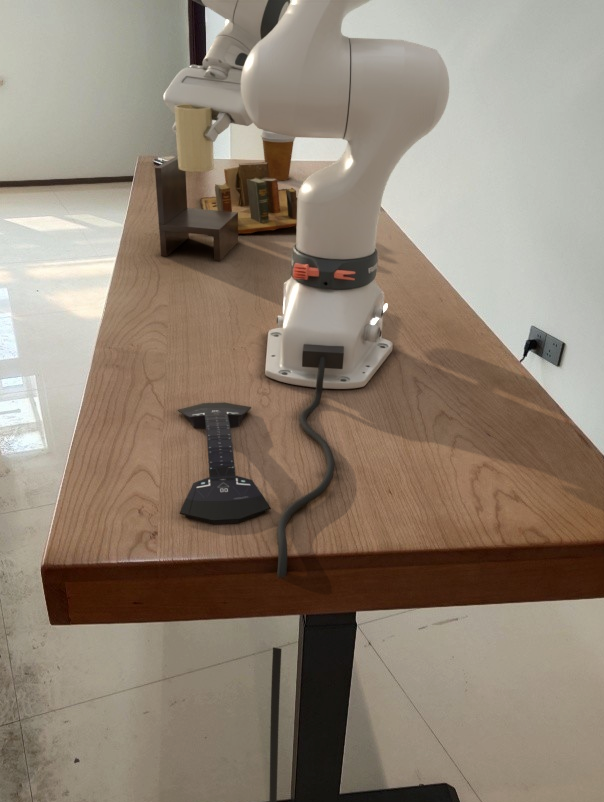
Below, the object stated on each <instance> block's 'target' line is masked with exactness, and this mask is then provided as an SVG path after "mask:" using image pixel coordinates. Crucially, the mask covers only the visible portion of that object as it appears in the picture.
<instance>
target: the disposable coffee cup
mask: <svg viewBox="0 0 604 802" xmlns="http://www.w3.org/2000/svg"><path fill="white" fill-rule="evenodd" d="M260 137H261V140H262V149H263V158H264V162H268V171H269V178H276V179H277V181H287V180H289V179H290V178H289V177H290V170H291V163H292V157H293V148H294V141H295V139H296V137H290V136H285V135H281V134H277V133H273V132H269V131H266V130H262V131H261V135H260Z"/></svg>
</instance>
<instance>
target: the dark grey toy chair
mask: <svg viewBox="0 0 604 802" xmlns="http://www.w3.org/2000/svg"><path fill="white" fill-rule="evenodd" d="M186 173H187V171H183V170H180V169H179V168H178V158H177V155H176V156H175V157H173V158H170V159H169V160H167V161H165V162H163V163H162V164H161V163H160V164H159V165H157V166H156V167H155V166H154V176H155V177H154V178H155V190H156V191H155V192H156V206H157V217H158V218H157V219H158V229H159V230H158V233H159V245H160V246H159V248H160V257H168V256H169V255H170V254H171V253H172V252H174V251H175V250H176V249H177V248H178V247H180V246H181V245H182V244H183V243H185V242H186V241H187V240H188V239H189V238H190V234H194V235H204V236H205V235H206V236H209V235H210V236H213V257H214V258H213V261H214V262H221V261H222V260H223V259H224V258H225V257H226V256H227V255H228V254H229V252H231V250H233V248H235V246H236V245H237V244H238V243H239V234H238V212H229V211H217V210H205V209H202V208H191V207H188V194H187V193H188V192H187V191H188V190H187V175H186Z"/></svg>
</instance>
